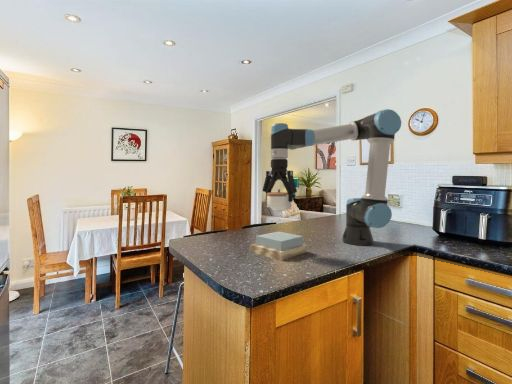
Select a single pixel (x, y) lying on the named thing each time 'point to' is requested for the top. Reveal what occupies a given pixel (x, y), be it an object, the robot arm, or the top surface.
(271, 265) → the top surface
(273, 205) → the lidded jar
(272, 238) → the tower top
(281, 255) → the tower base
